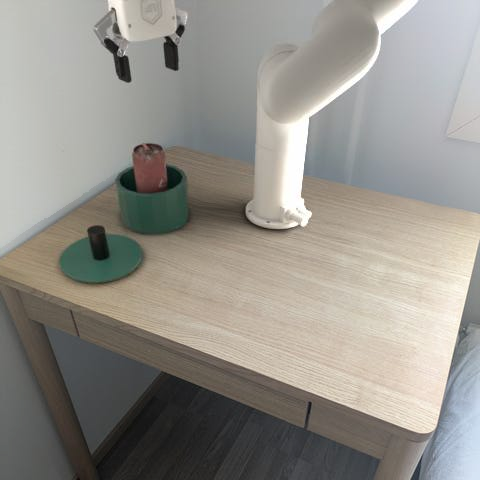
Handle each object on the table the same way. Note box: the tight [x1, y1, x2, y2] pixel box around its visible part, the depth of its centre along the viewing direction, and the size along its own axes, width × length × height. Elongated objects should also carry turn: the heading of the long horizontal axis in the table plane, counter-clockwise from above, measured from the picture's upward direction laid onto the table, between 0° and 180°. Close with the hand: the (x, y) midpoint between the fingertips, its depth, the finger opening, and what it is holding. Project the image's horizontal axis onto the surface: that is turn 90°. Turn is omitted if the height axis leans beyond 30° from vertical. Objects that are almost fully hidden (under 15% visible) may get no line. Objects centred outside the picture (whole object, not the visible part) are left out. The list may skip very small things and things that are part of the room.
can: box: [131, 142, 168, 193], centre depth 97 cm, size 6×6×14 cm
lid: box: [59, 224, 143, 284], centre depth 88 cm, size 15×15×7 cm
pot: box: [114, 163, 190, 235], centre depth 99 cm, size 14×14×8 cm
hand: (149, 74), depth 85 cm, fingers open, 9 cm apart
